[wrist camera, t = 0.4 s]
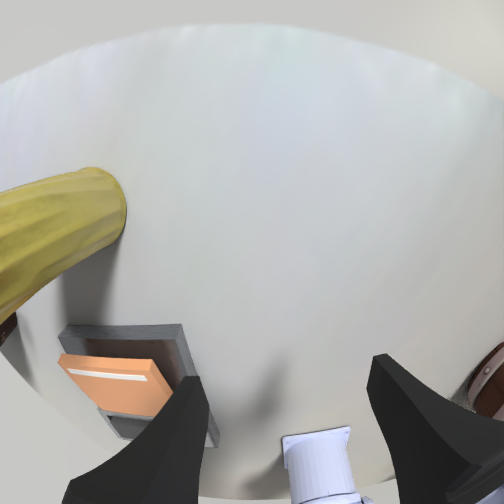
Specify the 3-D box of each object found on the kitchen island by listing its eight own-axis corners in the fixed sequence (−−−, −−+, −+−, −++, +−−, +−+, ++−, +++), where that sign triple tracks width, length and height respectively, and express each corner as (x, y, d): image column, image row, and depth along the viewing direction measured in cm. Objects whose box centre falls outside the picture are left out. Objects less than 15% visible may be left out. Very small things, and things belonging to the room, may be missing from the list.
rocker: (185, 409, 22) (183, 419, 21) (104, 401, 22) (101, 410, 21) (152, 359, 17) (149, 371, 17) (61, 353, 18) (57, 362, 17)
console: (219, 434, 26) (217, 452, 24) (127, 427, 27) (121, 442, 24) (181, 323, 21) (173, 344, 18) (67, 325, 21) (54, 340, 19)
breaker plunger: (200, 431, 24) (197, 445, 22) (126, 424, 25) (121, 437, 23) (192, 415, 23) (189, 431, 21) (115, 409, 24) (109, 422, 22)
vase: (135, 241, 19) (-3, 378, 5) (73, 252, 19) (-54, 355, 5) (119, 157, 16) (-71, 194, 3) (56, 178, 17) (-99, 232, 3)
